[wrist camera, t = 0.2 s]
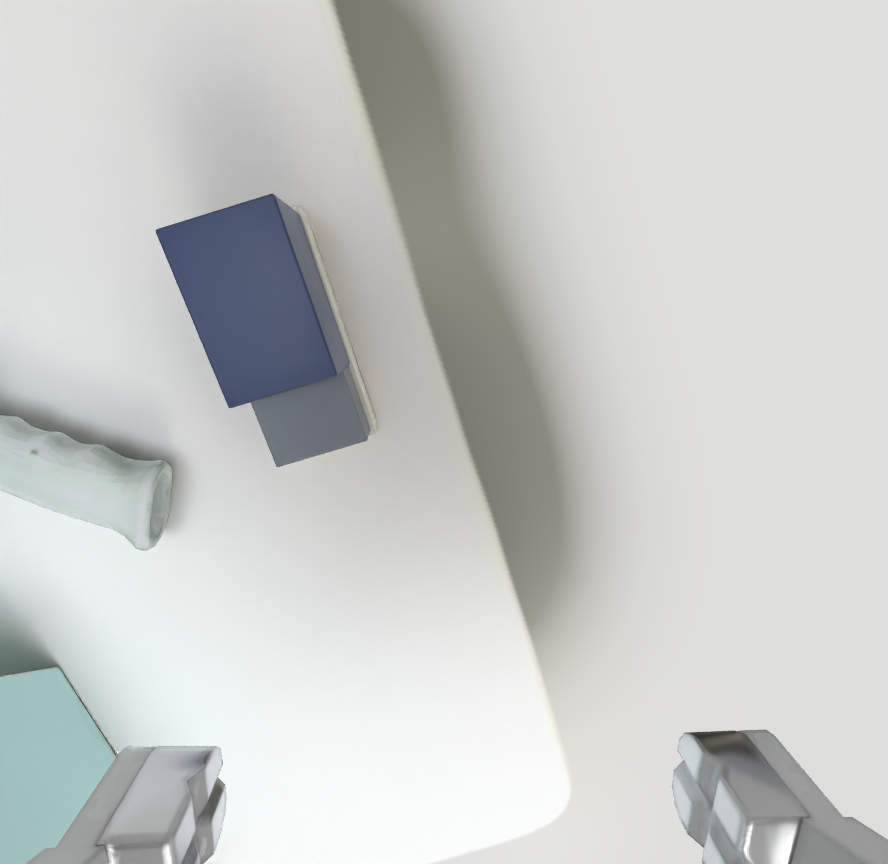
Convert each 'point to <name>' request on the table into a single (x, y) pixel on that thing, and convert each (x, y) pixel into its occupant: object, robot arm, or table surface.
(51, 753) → the cyan faceted polyhedron
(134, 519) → the tape dispenser
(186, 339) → the table surface
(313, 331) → the navy lidded box
